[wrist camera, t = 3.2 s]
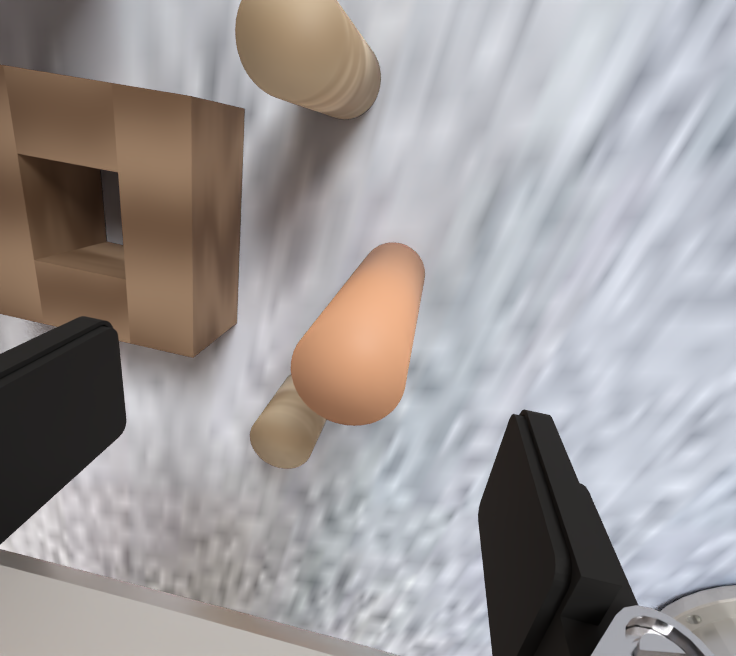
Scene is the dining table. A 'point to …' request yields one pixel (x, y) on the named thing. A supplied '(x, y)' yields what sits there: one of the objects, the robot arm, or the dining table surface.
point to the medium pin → (308, 55)
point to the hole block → (138, 208)
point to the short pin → (286, 429)
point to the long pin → (363, 340)
